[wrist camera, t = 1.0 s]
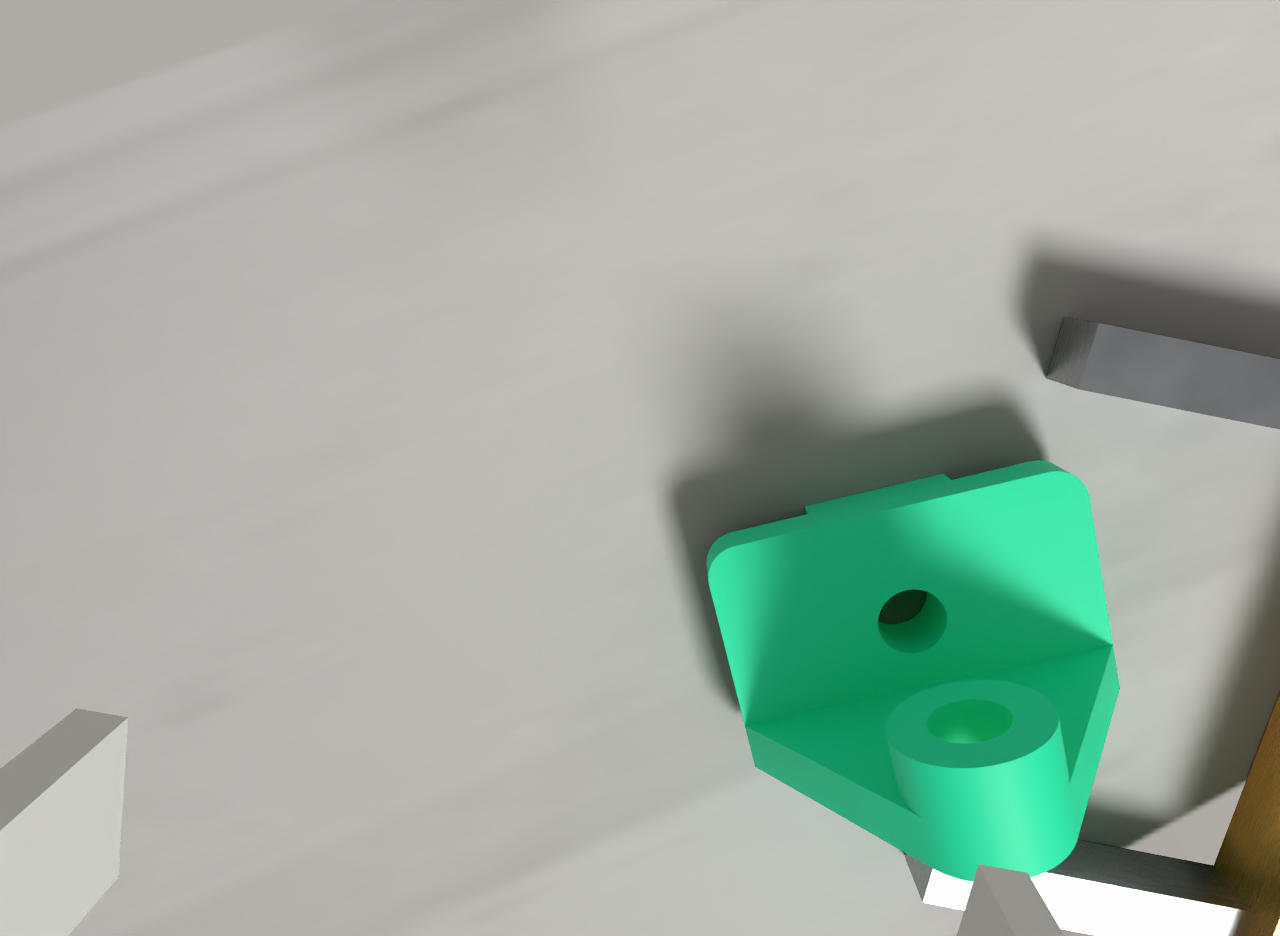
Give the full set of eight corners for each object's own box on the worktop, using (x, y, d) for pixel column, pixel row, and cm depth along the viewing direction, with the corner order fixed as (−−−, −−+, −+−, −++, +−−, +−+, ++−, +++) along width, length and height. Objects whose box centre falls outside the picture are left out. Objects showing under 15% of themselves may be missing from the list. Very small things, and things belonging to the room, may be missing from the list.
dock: (904, 856, 35) (930, 922, 31) (1064, 316, 30) (1114, 325, 27) (1248, 922, 35) (1311, 995, 31) (1458, 396, 30) (1558, 414, 27)
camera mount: (1050, 446, 31) (1230, 538, 21) (1084, 654, 33) (1267, 831, 23) (698, 530, 32) (712, 655, 22) (748, 727, 34) (782, 928, 24)
